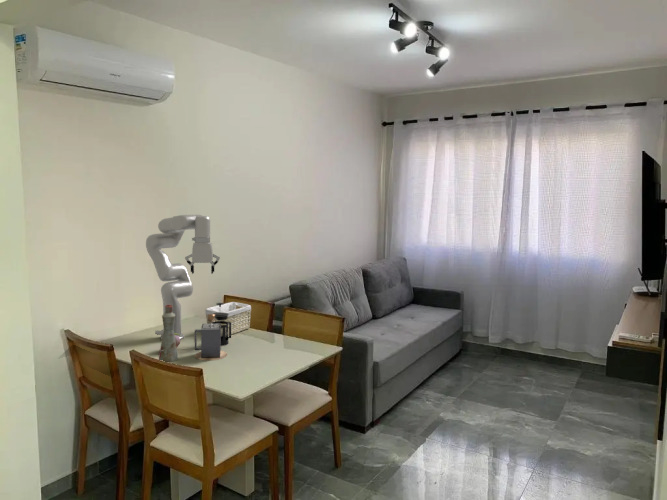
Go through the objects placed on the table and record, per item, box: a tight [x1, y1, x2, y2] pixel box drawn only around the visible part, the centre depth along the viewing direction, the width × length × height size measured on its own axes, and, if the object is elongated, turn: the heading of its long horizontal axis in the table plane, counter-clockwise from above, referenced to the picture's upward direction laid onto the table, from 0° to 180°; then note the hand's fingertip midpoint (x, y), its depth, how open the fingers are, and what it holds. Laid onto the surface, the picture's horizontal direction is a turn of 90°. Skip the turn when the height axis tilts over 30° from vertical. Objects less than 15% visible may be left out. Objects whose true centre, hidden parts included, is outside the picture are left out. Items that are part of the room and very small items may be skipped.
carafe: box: [194, 323, 222, 358], centre depth 253 cm, size 12×9×15 cm
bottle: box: [158, 305, 179, 363], centre depth 245 cm, size 9×9×28 cm
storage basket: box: [204, 301, 252, 337], centre depth 299 cm, size 24×16×15 cm
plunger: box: [206, 314, 215, 327], centre depth 253 cm, size 6×6×19 cm
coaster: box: [194, 350, 228, 362], centre depth 254 cm, size 16×16×1 cm
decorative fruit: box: [174, 333, 181, 349], centre depth 261 cm, size 9×8×10 cm
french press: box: [212, 302, 232, 347], centre depth 272 cm, size 12×9×23 cm
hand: (202, 273), depth 260 cm, fingers open, 9 cm apart
